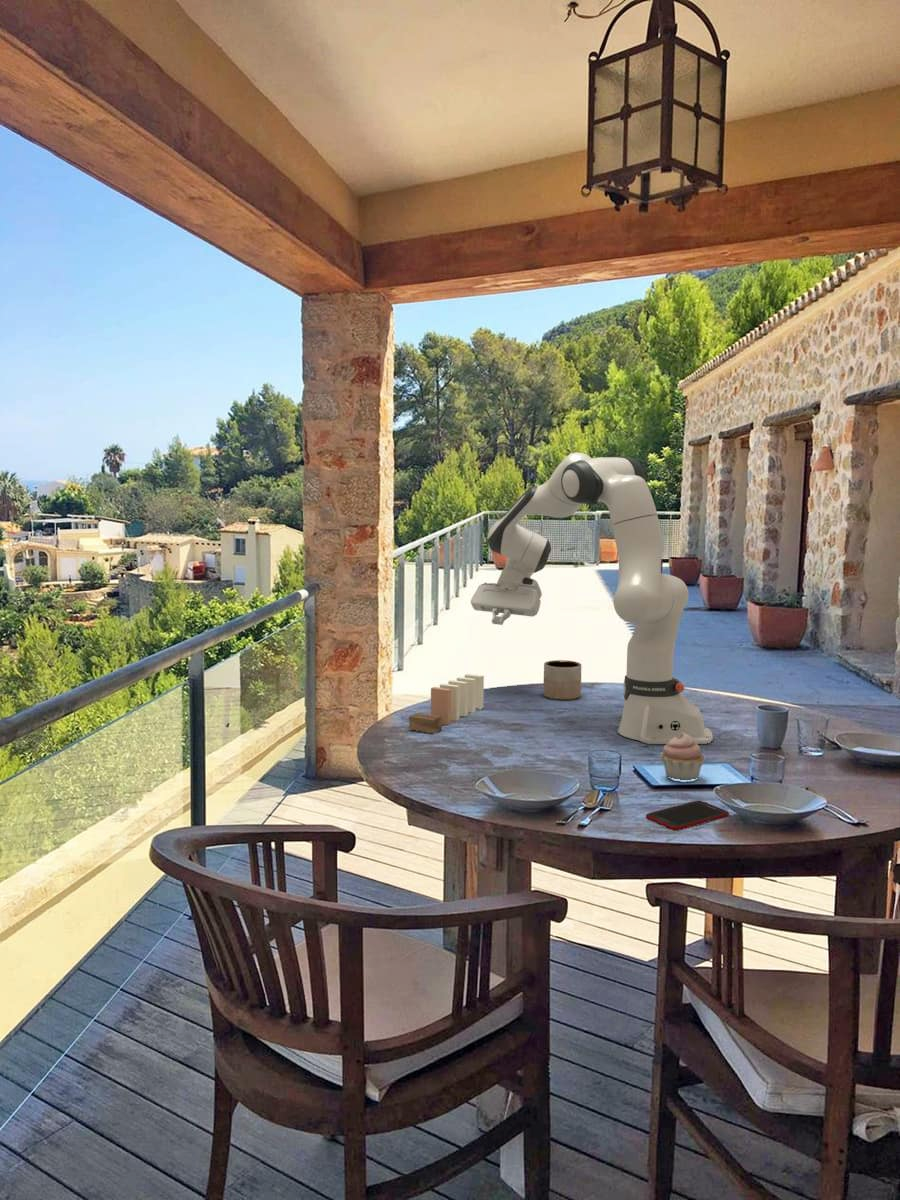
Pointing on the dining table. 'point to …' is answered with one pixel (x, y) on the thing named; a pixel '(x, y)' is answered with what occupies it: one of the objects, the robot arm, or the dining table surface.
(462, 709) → the domino
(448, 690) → the domino
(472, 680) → the domino
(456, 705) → the domino
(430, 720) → the block
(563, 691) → the planter
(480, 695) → the domino
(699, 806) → the cell phone
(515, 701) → the dining table surface
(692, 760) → the cupcake
